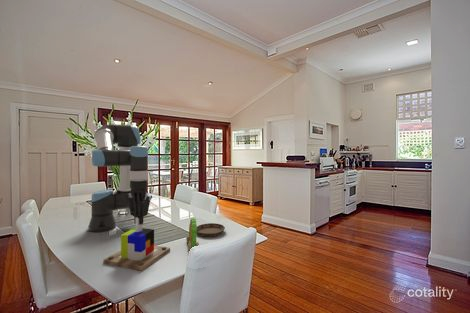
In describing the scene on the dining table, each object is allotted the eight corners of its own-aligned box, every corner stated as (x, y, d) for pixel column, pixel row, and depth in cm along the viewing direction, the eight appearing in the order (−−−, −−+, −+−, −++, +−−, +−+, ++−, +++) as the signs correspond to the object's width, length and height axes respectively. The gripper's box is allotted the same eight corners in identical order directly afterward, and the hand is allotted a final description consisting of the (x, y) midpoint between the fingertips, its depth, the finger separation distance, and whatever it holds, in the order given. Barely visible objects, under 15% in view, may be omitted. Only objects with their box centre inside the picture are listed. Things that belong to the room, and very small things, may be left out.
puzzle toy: (141, 259, 99) (141, 237, 99) (121, 257, 102) (121, 234, 101) (154, 250, 109) (154, 229, 109) (135, 247, 111) (135, 227, 111)
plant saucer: (199, 240, 127) (199, 234, 127) (192, 229, 143) (192, 225, 143) (229, 235, 134) (229, 230, 134) (219, 226, 150) (219, 221, 150)
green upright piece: (185, 241, 124) (186, 213, 124) (196, 240, 126) (196, 212, 125) (188, 254, 109) (188, 222, 109) (200, 252, 111) (200, 221, 110)
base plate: (103, 263, 99) (103, 258, 99) (136, 245, 118) (136, 241, 118) (141, 271, 93) (141, 266, 93) (170, 250, 112) (170, 246, 112)
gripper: (156, 179, 107) (156, 230, 107) (133, 178, 110) (133, 226, 111) (145, 181, 99) (145, 235, 100) (121, 180, 103) (121, 232, 104)
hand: (138, 231), depth 106 cm, fingers closed
